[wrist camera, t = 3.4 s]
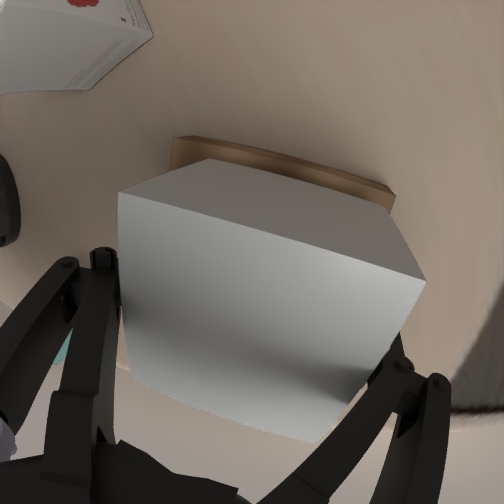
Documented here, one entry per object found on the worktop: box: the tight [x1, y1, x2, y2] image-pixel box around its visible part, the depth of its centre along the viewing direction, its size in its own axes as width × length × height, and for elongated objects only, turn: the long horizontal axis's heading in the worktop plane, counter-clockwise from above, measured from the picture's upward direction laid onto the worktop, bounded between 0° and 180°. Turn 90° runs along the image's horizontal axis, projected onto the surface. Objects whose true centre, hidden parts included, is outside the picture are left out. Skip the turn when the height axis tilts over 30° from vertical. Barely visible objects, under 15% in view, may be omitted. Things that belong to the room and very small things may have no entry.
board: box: [169, 136, 396, 214], centre depth 21 cm, size 15×20×8 cm
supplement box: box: [0, 0, 153, 95], centre depth 12 cm, size 9×9×15 cm
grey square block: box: [118, 158, 427, 443], centre depth 14 cm, size 10×10×8 cm
